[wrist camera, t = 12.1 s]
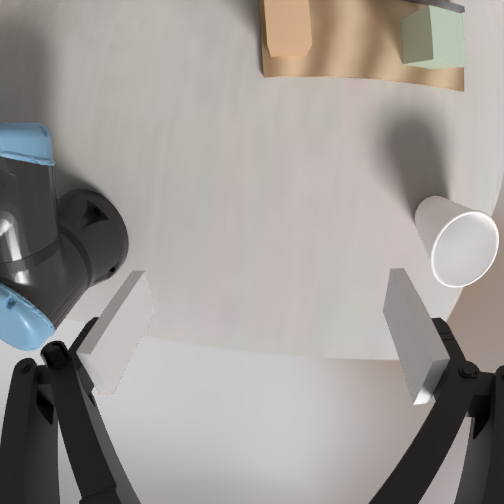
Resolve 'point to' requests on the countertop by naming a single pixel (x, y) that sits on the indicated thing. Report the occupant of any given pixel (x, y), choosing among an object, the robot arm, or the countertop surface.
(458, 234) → the cup
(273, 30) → the faced carton
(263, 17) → the wavy tan tray
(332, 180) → the countertop surface
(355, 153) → the countertop surface
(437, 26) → the carton
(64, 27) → the countertop surface
